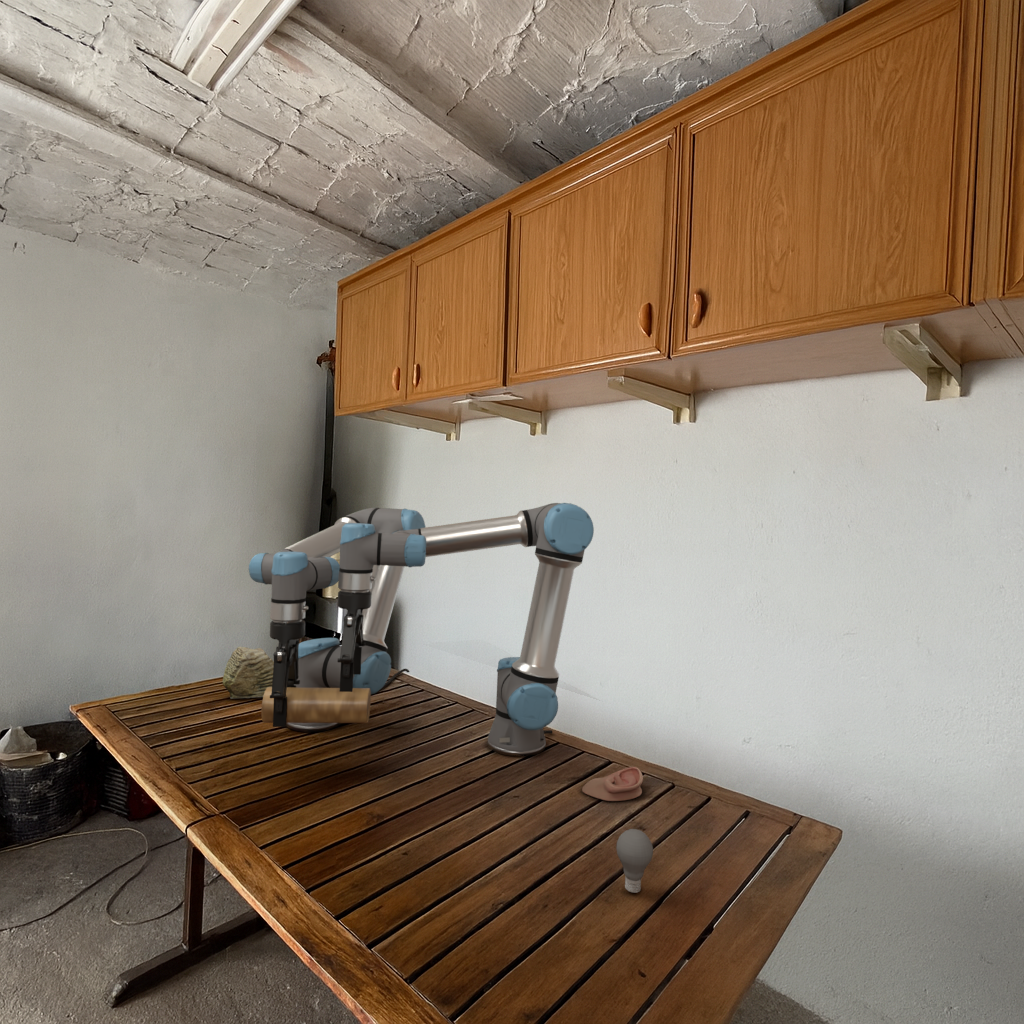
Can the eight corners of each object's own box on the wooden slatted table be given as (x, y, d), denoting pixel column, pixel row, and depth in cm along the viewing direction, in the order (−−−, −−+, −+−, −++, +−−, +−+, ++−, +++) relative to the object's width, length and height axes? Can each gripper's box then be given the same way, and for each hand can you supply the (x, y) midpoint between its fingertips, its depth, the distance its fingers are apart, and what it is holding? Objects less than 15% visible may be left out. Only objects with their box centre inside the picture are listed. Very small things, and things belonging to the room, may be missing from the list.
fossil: (218, 695, 195) (220, 647, 195) (278, 685, 208) (279, 640, 207) (228, 703, 189) (230, 653, 188) (289, 692, 201) (290, 645, 201)
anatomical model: (581, 779, 138) (585, 758, 149) (580, 797, 138) (585, 775, 149) (643, 787, 135) (643, 766, 147) (642, 806, 136) (642, 783, 147)
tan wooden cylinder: (260, 727, 140) (261, 693, 140) (270, 715, 148) (271, 682, 148) (366, 728, 143) (367, 694, 142) (370, 716, 150) (371, 684, 150)
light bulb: (610, 879, 108) (613, 822, 108) (644, 879, 109) (647, 822, 109) (619, 902, 102) (622, 840, 102) (655, 901, 103) (658, 840, 103)
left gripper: (294, 630, 134) (290, 736, 135) (314, 612, 155) (310, 704, 155) (257, 629, 133) (253, 736, 134) (282, 611, 154) (278, 704, 154)
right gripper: (365, 599, 133) (360, 699, 134) (377, 583, 158) (373, 668, 159) (328, 598, 133) (323, 699, 133) (346, 582, 157) (342, 667, 158)
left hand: (284, 719), depth 144 cm, fingers closed on tan wooden cylinder, 8 cm apart
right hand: (350, 682), depth 146 cm, fingers open, 13 cm apart
